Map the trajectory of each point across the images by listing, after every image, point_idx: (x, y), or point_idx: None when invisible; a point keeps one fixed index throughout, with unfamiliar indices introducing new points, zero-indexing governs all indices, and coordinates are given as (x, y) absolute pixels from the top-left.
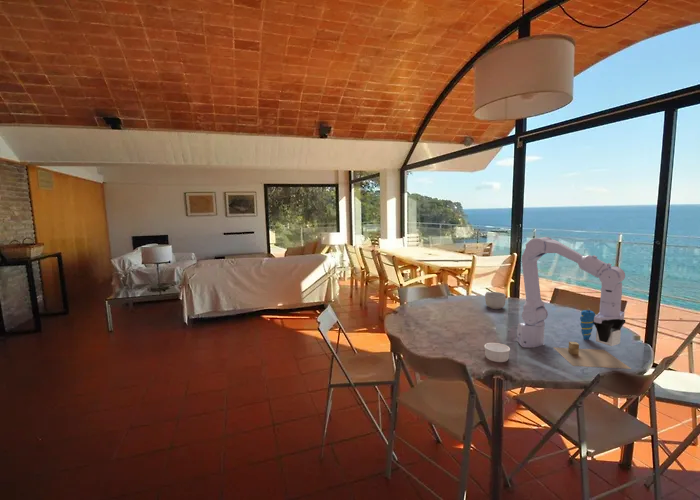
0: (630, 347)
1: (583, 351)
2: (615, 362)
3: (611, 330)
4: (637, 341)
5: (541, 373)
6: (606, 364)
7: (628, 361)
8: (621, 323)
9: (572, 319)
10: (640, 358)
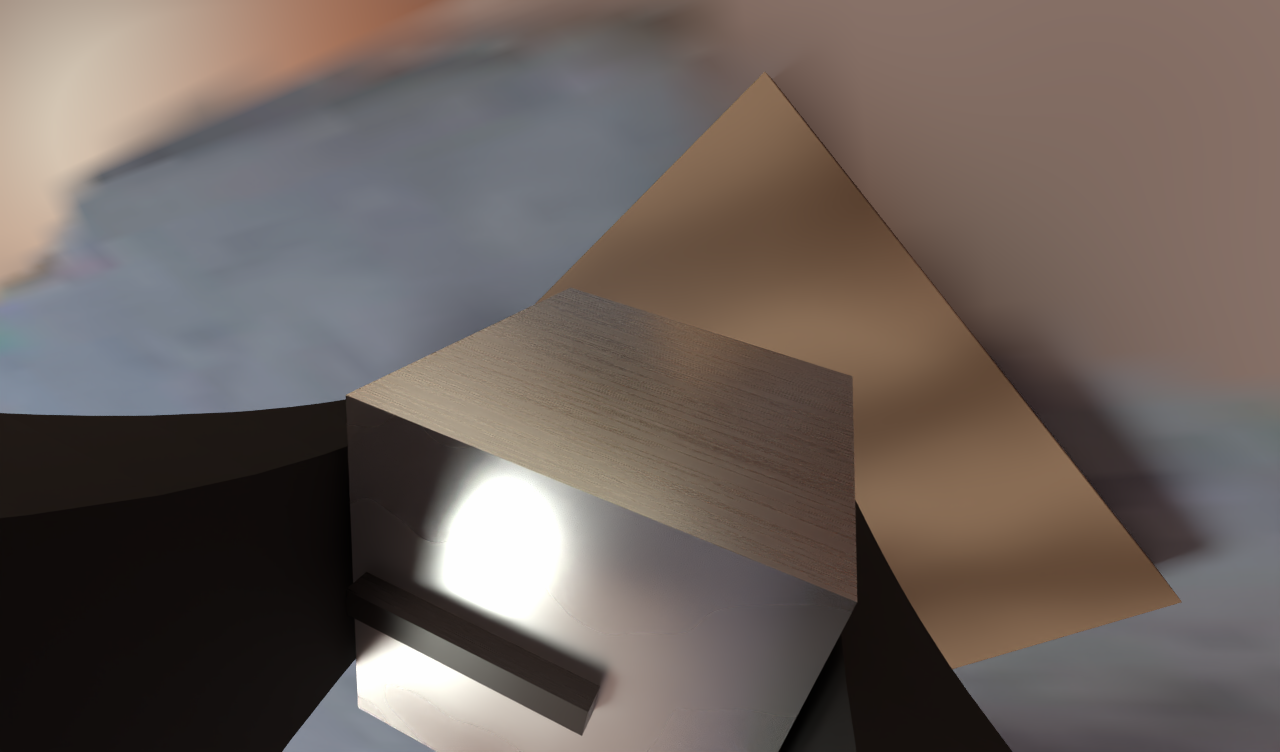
0: (183, 256)
1: None
2: (691, 263)
3: (678, 623)
4: (54, 244)
5: None
6: (836, 324)
7: (468, 193)
8: (65, 519)
9: None
10: (318, 133)
